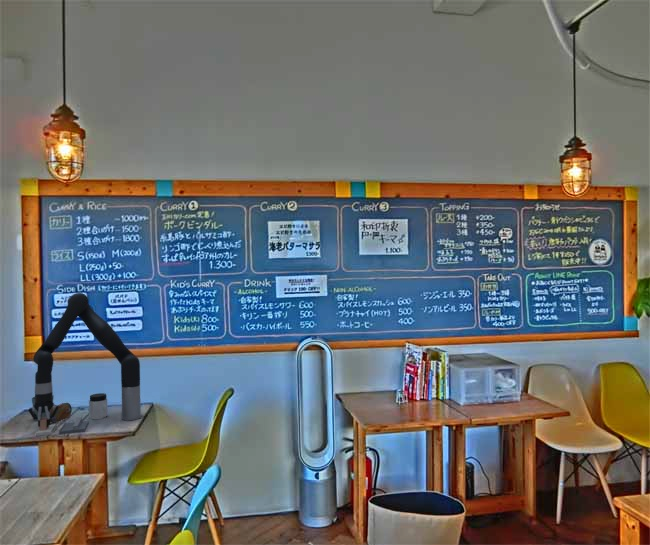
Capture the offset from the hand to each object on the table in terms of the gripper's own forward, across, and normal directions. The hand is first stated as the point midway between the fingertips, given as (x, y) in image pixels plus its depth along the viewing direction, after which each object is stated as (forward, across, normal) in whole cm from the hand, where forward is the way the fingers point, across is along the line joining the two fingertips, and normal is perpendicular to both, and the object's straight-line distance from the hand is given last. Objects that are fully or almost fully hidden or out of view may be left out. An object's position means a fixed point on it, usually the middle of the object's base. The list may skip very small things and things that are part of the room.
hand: (44, 426), depth 239 cm
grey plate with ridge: (+3, -13, 0) cm, 14 cm away
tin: (+3, -3, -20) cm, 20 cm away
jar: (+3, -22, -18) cm, 29 cm away
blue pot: (+3, +6, -26) cm, 27 cm away
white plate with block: (+3, -1, 0) cm, 3 cm away
